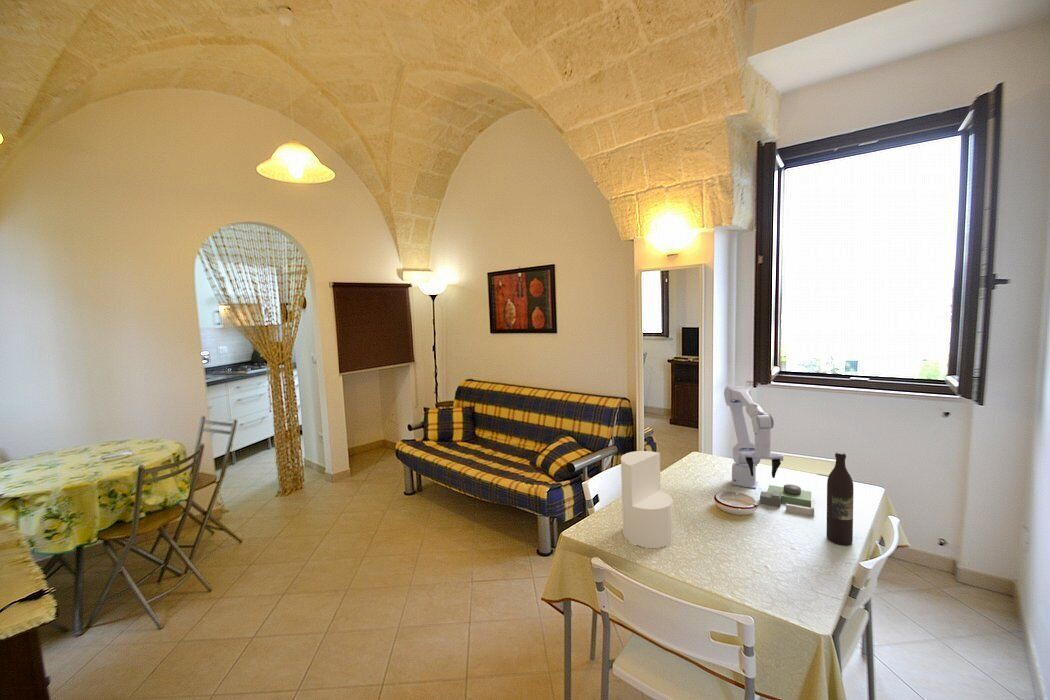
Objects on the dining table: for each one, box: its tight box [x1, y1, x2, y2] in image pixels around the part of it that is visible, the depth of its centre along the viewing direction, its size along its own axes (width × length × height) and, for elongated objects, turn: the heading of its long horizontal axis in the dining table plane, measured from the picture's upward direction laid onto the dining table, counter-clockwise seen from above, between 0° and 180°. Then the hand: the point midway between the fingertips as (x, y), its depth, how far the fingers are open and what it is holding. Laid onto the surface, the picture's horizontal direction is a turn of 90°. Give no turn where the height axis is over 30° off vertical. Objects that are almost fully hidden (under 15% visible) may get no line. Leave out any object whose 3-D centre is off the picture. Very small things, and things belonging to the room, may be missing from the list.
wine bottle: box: [826, 451, 854, 546], centre depth 142 cm, size 7×7×30 cm
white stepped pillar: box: [620, 450, 675, 549], centre depth 151 cm, size 17×17×28 cm
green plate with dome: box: [767, 483, 815, 517], centre depth 171 cm, size 16×17×4 cm
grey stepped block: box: [759, 490, 782, 509], centre depth 172 cm, size 7×5×5 cm
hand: (762, 476), depth 175 cm, fingers open, 7 cm apart
